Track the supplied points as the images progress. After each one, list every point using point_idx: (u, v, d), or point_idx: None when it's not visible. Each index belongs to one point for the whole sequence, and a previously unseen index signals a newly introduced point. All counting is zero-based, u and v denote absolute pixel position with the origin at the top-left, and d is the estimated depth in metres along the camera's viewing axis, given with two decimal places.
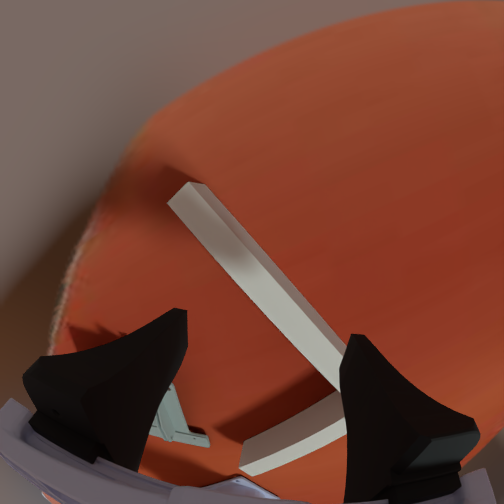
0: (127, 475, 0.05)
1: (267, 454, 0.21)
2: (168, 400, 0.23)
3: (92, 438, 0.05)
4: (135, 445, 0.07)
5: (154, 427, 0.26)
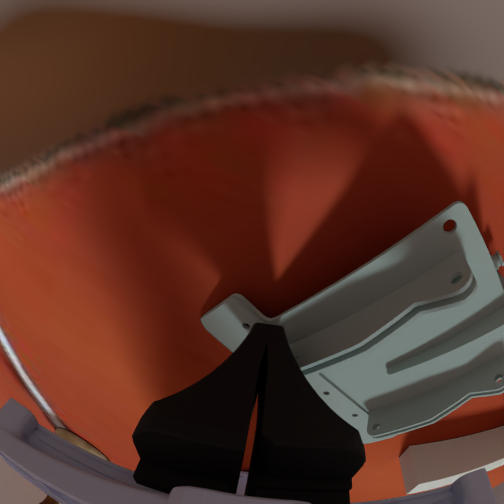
0: (127, 475, 0.05)
1: (453, 473, 0.12)
2: None
3: (227, 481, 0.05)
4: None
5: (348, 402, 0.14)
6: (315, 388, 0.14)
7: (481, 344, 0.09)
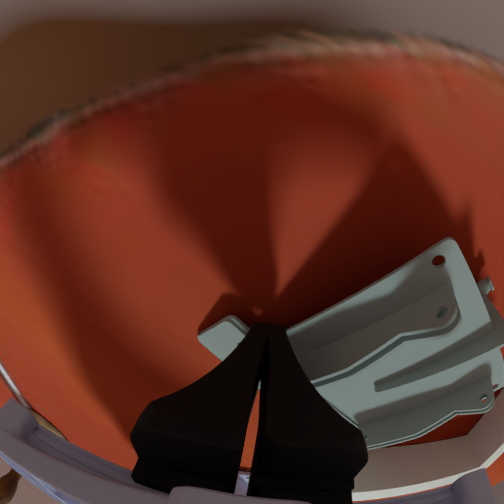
0: (127, 475, 0.05)
1: (386, 486, 0.13)
2: None
3: (225, 480, 0.05)
4: (238, 471, 0.07)
5: None
6: None
7: (467, 366, 0.10)
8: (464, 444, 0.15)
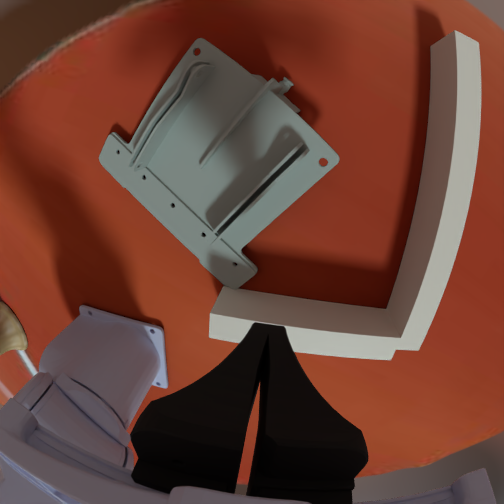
0: (127, 475, 0.05)
1: (265, 320, 0.18)
2: (293, 180, 0.16)
3: (225, 481, 0.05)
4: (238, 472, 0.07)
5: (191, 214, 0.19)
6: (164, 201, 0.19)
7: (266, 130, 0.15)
8: (380, 314, 0.20)
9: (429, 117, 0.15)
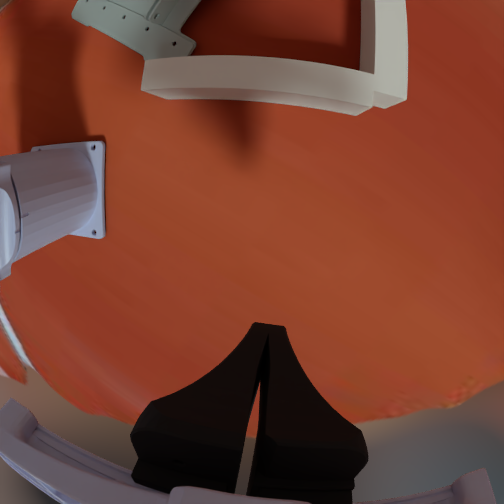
0: (127, 475, 0.05)
1: (203, 56, 0.13)
2: None
3: (225, 480, 0.05)
4: (238, 471, 0.07)
5: (138, 16, 0.15)
6: (117, 16, 0.15)
7: None
8: None
9: None
